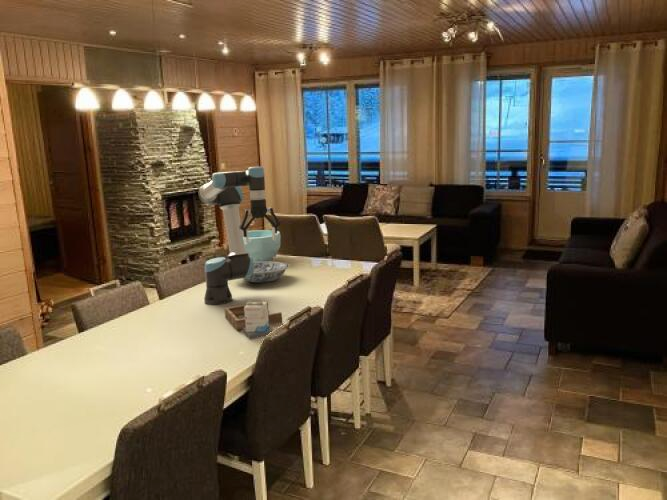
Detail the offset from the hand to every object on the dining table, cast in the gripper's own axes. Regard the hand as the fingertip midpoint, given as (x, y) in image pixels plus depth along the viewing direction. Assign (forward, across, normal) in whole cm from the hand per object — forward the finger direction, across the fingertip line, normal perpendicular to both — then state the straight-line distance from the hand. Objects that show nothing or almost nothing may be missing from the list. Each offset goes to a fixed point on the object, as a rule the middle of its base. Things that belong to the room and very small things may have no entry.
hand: (261, 241), depth 279 cm
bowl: (+37, +29, +111) cm, 121 cm away
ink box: (+35, -12, -27) cm, 46 cm away
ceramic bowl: (+37, +18, +64) cm, 76 cm away
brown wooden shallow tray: (+37, -9, -8) cm, 39 cm away
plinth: (+37, -12, -27) cm, 47 cm away
